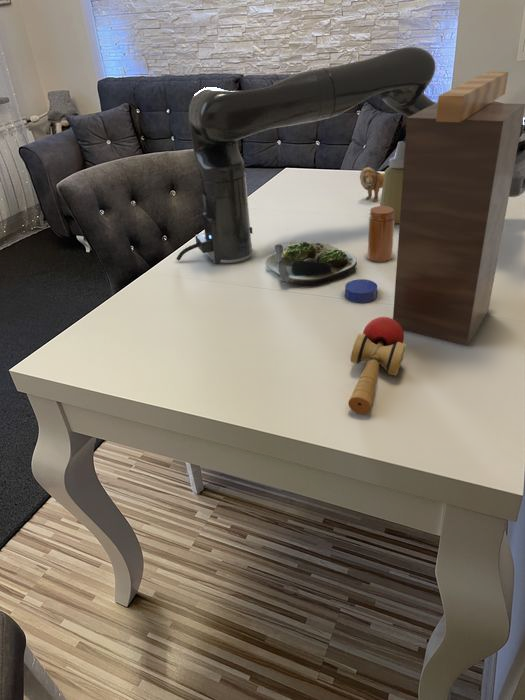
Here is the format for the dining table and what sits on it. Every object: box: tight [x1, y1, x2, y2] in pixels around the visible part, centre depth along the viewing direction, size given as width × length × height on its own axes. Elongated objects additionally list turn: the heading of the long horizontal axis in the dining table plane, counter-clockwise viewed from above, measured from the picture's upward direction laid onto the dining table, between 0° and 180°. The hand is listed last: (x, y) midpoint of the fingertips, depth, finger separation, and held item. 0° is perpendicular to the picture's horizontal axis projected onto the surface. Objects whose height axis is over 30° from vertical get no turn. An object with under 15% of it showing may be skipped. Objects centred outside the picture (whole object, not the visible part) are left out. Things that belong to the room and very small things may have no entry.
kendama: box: [347, 316, 407, 415], centre depth 75 cm, size 8×6×18 cm
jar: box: [367, 205, 395, 263], centre depth 108 cm, size 5×5×10 cm
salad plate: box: [264, 241, 358, 287], centre depth 109 cm, size 19×18×5 cm
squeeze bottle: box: [379, 140, 405, 224], centre depth 124 cm, size 8×8×18 cm
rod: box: [436, 71, 509, 123], centre depth 72 cm, size 22×3×3 cm, turn 146°
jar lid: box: [344, 278, 378, 304], centre depth 97 cm, size 6×6×2 cm
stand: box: [392, 101, 525, 347], centre depth 80 cm, size 12×12×32 cm
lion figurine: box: [359, 166, 385, 203], centre depth 141 cm, size 15×5×9 cm, turn 118°
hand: (499, 113), depth 86 cm, fingers open, 8 cm apart
